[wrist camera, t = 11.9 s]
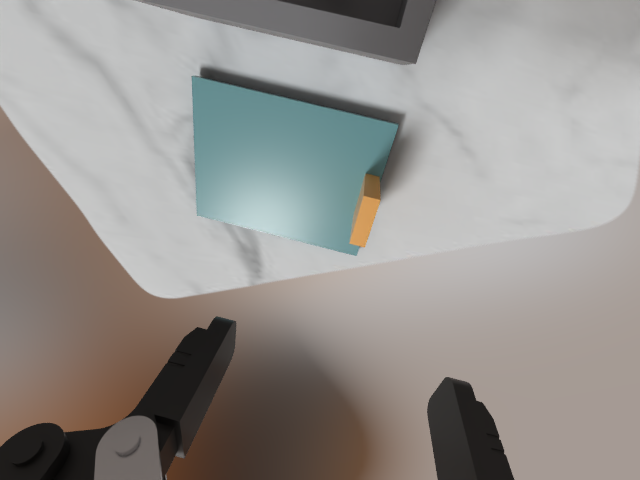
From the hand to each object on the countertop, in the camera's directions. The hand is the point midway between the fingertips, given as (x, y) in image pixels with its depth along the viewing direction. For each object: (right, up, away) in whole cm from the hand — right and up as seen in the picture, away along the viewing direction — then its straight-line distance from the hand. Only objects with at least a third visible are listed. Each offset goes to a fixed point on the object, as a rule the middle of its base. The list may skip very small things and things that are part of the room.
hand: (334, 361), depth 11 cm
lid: (-4, +10, +15) cm, 19 cm away
